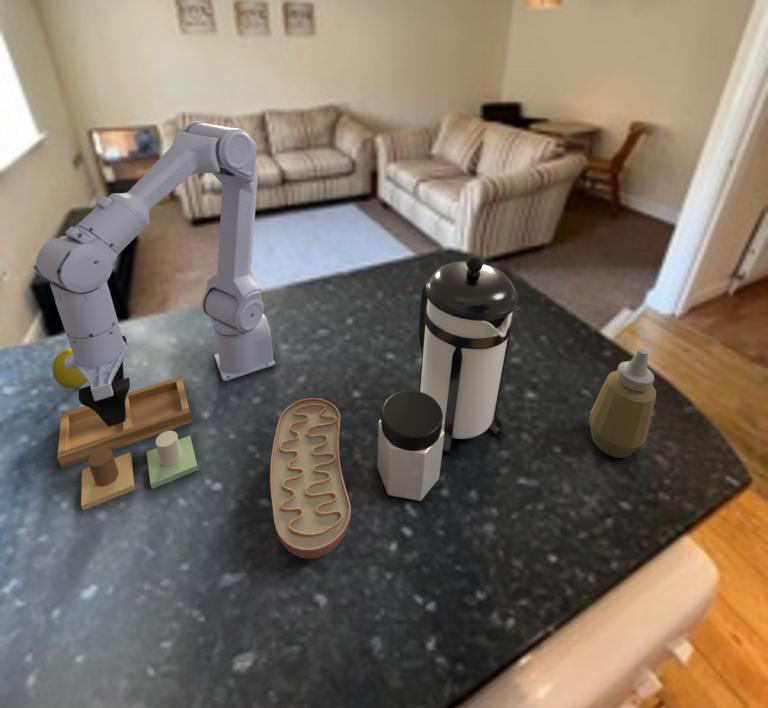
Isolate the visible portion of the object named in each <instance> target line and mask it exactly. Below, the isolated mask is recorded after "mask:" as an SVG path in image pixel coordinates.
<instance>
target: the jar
mask: <svg viewBox="0 0 768 708" xmlns="http://www.w3.org/2000/svg"><path fill="white" fill-rule="evenodd" d="M380 413H381V414H380V419H379V420H378V426H377V427H378V428H377V429H378V430H377V432H378V433H377V464H376V467H377V470H378V473H379V475H380V478H381V481H382V483H383V486H384V488H385V491H386V494H387V495H388V496H391V497H397V498H403V499H408V500H412V501H419V502H421V501H423V499H424V498H425V496H426V495H427V494H428V493H429V492H430V491H431V489H432V488H433V487H434V486H435V484H436V483H437V482H438V481H439V480H440V475H441V467H442V457H443V452H442V450H443V441H444V430H443V429H442V420H443V413H442V410H441V407H440V405H439V404H438V403H437V402H436V400H434V399H433V398H432V397H431V396H429V395H427V394H425V393H422V392H419V390H412V389H411V390H402V391H398V392H395V393H393V394H392V395H390V396H389V397H388V398H386V400H385V401H384V403H383V404H382V407H381V412H380Z"/></svg>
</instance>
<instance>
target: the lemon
mask: <svg viewBox="0 0 768 708" xmlns="http://www.w3.org/2000/svg"><path fill="white" fill-rule="evenodd" d="M72 355H73V352H72V349H71V347H70V348H66V349H64V350H62V351H61V352H59V353H57V355H56V356H55V357H54V359H53V362H52V367H51V368H52V376H53V378H54V380H55V382H56V383H57V384H58V385H59V386H61V387H63V388H64V389H65V388H66V389H76V388H82V387H83V386H84V385H85V384H86V383H88V382H87V381H86V380H85V378H84V377H83V376H82V375H81V373H80V372H79V371H78V370H77V369H76V368H72V369H66V367H65V359H66V358H67V357H68V356H72Z"/></svg>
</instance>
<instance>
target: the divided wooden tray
mask: <svg viewBox="0 0 768 708" xmlns="http://www.w3.org/2000/svg"><path fill="white" fill-rule="evenodd" d="M125 407H126V419H125V422H122V423H119V424H116V425H113V426H110V427H108V426H107V425H106V424H105V423H104V421H103V420H102V419H101V418H100V416H99V415H98V414H97V413H96V412H95V411H94V410H92V409H91V408H89V407H87V406H84V405H82V406H80V407H78V408H74V409H70V410H68V411H64V412H62V413H60V424H59V433H58V434H59V435H58V447H57V456H56V457H57V462H58V463H59V466H60V468H61V470H63V469H67V468H69V467H73V466H75V465H78V464H80V463H83V462H86V461H88V459H89V457H90V456H91V455H92V454H93V453H94V452H96V451H98V450H100V449H104V448H107V449H110V450H111V451H112V452H114V451H116V450H119V449H122V448H125V447H127V446H131V445H133V444H136V443H139V442H141V441H143V440H147V439H151V438H153V437H155V436H159V435H160V434H162V433H163V432H166V431H173V430H175V429H178V428H180V427H184V426H186V425H189V424H191V423H193V420H192V416H191V415H192V414H191V411H190V407H189V403H188V398H187V394H186V391H185V386H184V382H183V378H182V376H177V377H174V378H171V379H167V380H165V381H161V382H157V383H155V384H151V385H148V386H145V387H142V388H139V389H135V390H132V391H128V393H127V396H126V400H125Z"/></svg>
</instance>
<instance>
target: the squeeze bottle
mask: <svg viewBox="0 0 768 708" xmlns="http://www.w3.org/2000/svg"><path fill="white" fill-rule="evenodd" d="M648 360H649V351H648V350H646V349H644V348H639V349H637V351H636V352H635V354H634V356H633V357H632V358H631V360H630V361H629V360H627V361H622V362H620V363H619V364H618V366H617V369H616V370H614V371H611V372H610V373H608V375H607V376H606V378H605V381H604V382H603V385H602V387H601V389H600V391H599V393H598V395H597V397H596V400H595V402H594V403H593V406H592V408H591V410H590V412H589V418H588V419H589V420H588V421H589V427H590V434H591V438H592V441H593V443H594V445H595V446H596V447H597V448H598V449H599V450H600V451H602V452H603V453H604V454H606V455H608V456H611V457H613V458H619V459H624V458H628V457H630V456H631V455H632V454H634V453H635V452H636V451H637V450H638V449H640V448H641V447H642V446H643V445H644V444H645V443H646V442H647V439H648V435H649V432H650V431H649V430H650V426H651V421H652V417H653V413H654V407H655V404H656V399H657V390H656V389H655V387H654V385H653V384H654V381H655V375H654V373H653V372H652V370H651V369H649V368H648V362H649V361H648Z"/></svg>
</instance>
